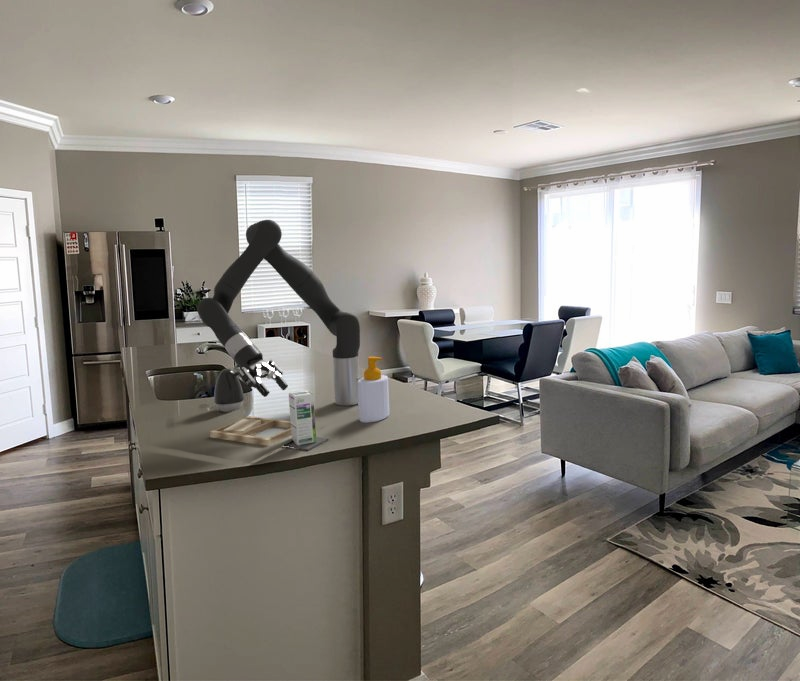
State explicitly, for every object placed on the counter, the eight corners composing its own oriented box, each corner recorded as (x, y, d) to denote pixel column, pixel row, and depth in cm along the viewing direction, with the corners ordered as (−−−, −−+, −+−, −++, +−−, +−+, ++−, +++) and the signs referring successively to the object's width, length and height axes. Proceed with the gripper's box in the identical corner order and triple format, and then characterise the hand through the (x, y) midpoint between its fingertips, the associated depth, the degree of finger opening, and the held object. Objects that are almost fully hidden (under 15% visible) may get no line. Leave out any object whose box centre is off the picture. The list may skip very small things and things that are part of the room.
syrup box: (297, 446, 163) (294, 396, 161) (291, 440, 168) (288, 391, 166) (316, 442, 166) (313, 393, 164) (310, 437, 171) (307, 389, 169)
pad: (279, 446, 165) (279, 444, 165) (300, 436, 174) (300, 434, 173) (308, 450, 160) (308, 449, 160) (328, 440, 169) (328, 438, 169)
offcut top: (224, 436, 172) (223, 429, 172) (243, 425, 183) (242, 419, 182) (243, 437, 171) (242, 430, 170) (261, 426, 181) (260, 419, 181)
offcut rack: (210, 441, 172) (209, 431, 172) (249, 425, 187) (249, 416, 187) (268, 450, 162) (268, 439, 162) (305, 432, 177) (304, 423, 177)
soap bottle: (373, 424, 183) (370, 361, 180) (352, 421, 187) (349, 359, 184) (395, 414, 194) (393, 354, 191) (375, 411, 198) (373, 353, 195)
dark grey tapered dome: (236, 414, 201) (233, 371, 198) (209, 414, 203) (205, 371, 200) (250, 407, 210) (247, 366, 208) (224, 406, 213) (220, 365, 210)
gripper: (232, 347, 165) (267, 388, 162) (265, 339, 178) (298, 378, 174) (220, 364, 168) (254, 405, 165) (253, 355, 181) (285, 394, 178)
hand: (276, 391), depth 170 cm, fingers open, 8 cm apart
